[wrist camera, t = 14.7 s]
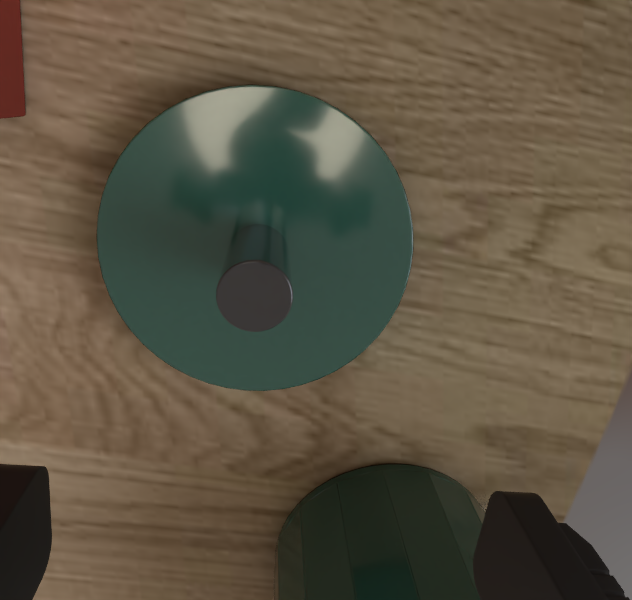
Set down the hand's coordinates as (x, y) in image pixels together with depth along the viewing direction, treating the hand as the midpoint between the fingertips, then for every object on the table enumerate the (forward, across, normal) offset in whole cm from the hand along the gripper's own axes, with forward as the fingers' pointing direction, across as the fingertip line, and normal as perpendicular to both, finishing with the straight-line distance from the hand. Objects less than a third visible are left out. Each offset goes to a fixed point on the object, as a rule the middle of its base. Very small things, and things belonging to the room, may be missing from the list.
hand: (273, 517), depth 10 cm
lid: (+14, +1, -1) cm, 14 cm away
